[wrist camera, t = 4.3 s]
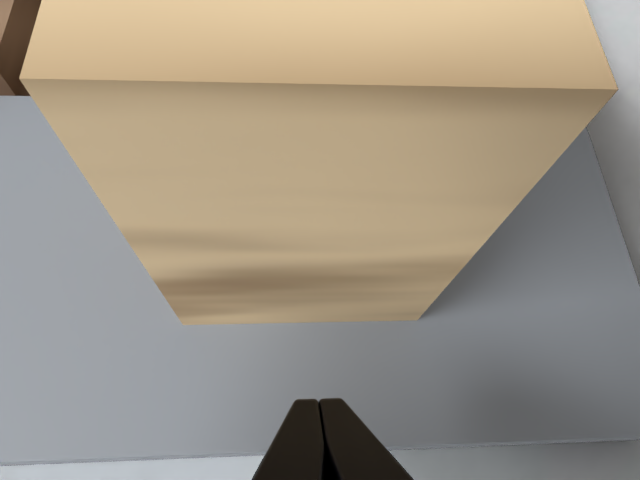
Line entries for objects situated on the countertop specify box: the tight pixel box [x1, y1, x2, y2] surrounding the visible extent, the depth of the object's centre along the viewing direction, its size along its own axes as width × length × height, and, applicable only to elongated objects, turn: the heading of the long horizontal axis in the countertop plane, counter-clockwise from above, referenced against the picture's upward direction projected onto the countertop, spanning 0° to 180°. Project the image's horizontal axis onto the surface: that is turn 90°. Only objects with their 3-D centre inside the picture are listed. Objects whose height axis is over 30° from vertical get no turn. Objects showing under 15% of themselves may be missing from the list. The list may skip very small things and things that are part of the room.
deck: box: [0, 96, 640, 466], centre depth 17 cm, size 12×22×2 cm, turn 92°
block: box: [19, 0, 618, 325], centre depth 12 cm, size 7×7×10 cm
